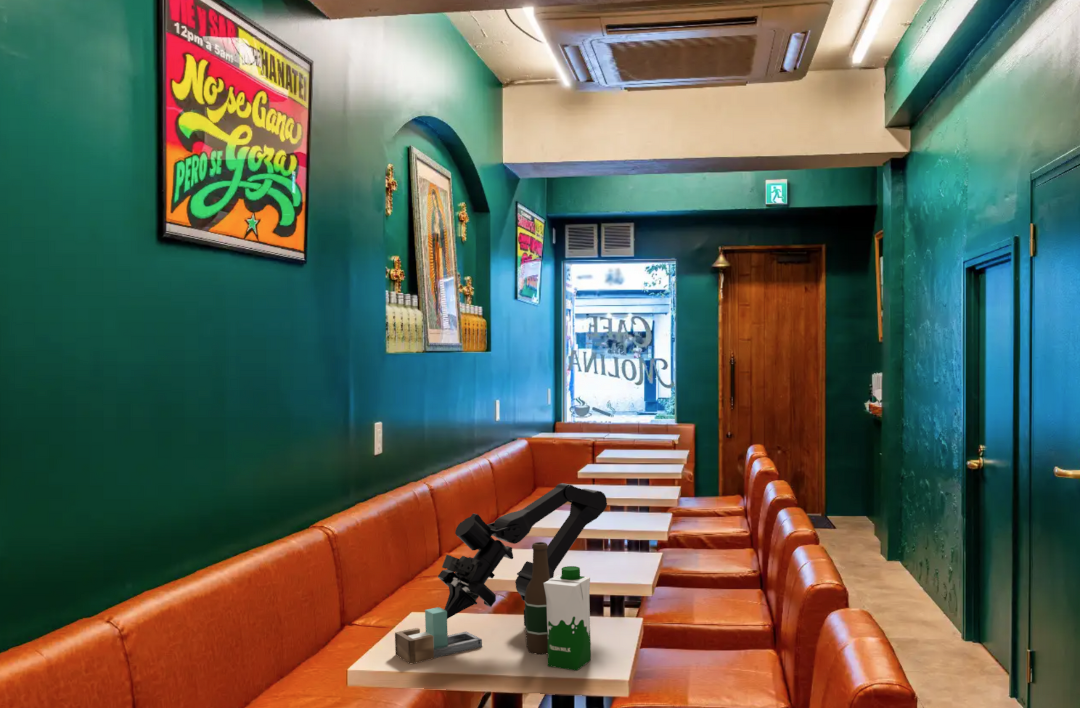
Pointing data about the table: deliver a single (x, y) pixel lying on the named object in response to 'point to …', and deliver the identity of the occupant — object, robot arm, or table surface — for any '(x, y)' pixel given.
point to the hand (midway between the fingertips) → (444, 617)
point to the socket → (413, 646)
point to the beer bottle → (537, 602)
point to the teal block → (435, 626)
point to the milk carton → (568, 619)
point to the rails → (458, 644)
